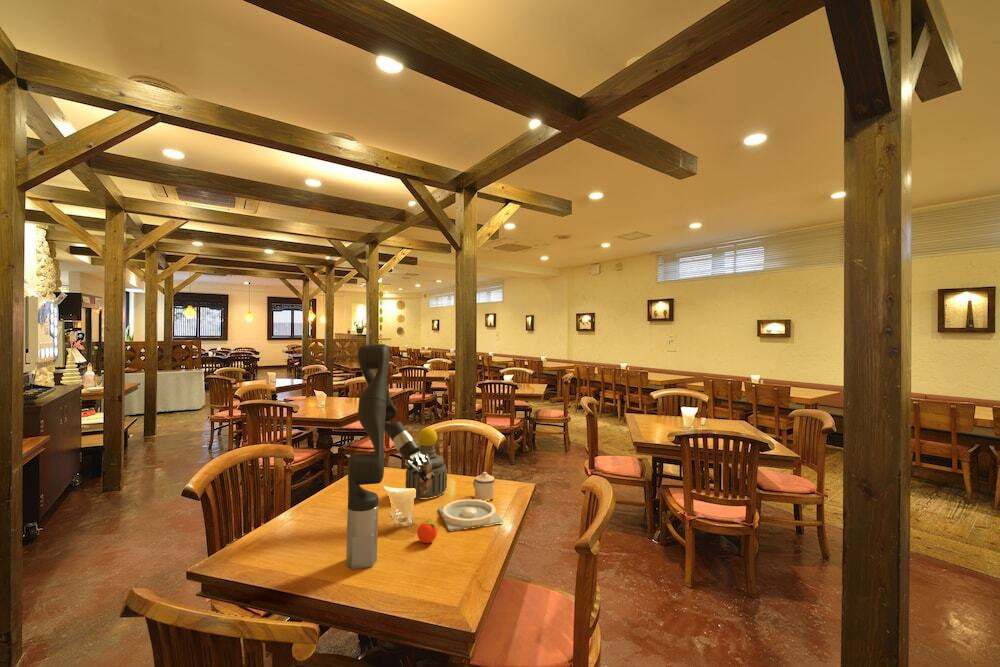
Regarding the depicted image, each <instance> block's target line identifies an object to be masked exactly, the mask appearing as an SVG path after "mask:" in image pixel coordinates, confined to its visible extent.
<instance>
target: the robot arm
mask: <svg viewBox="0 0 1000 667" xmlns="http://www.w3.org/2000/svg"><path fill="white" fill-rule="evenodd" d="M390 353H391V352H390V348H389V346H388V345H387V344H385V343H378V344H363V345H361V346H359V348H358V351H357V361H358V365H359V368H360V370H361V373H362V375H363V378H364V379H365V381H366V384H367V387H366V388H365V389H364V390H363V392H362V394H361V395H360V396H359V401H358V409H357V418H358V421H359V423H360V425H361V426H362V428H363V430H364V431H365V432H366V434H367V436H368V437H369V440H370V441H371V444H372V446H373V450H374V453H363V454H362V453H360V454H351V456H350V457H349V459H348V462H347V487H348V488H347V489H348V490H347V492H348V493H347V519H346V520H347V521H346V546H345V548H346V551H345V552H346V554H345V555H346V560H345V561H346V562H345V565H346V566H347V567H348V568H349V569H350V571H351V570H359V569H365V568H372V567H373V566H374V564H376V562H377V560H378V533H379V530H378V528H379V521H378V520H379V496H378V494H377V493H376V492H373V491H371V490H367V489H365V488H363V487H362V486H363V485H374V484H375V485H378V484H380V483H381V482H382V481H383V479H384V473H385V433H386V434H387V436H388V437H389V438H390V440H391V441H392V443H393V444H394V447H395V448H396V450H397V451H398V453H399V454H400V456H401V458H402V459H403V460H405V461H406V462H405V463H404V464H403V467H404V468H406V470H407V469H408V470H409V471H410V472H411V473H413V474H414V475H416V474H417V475H419V476H420V477H421V479H422V480H423V481H424V482H427V481H428V480H429V478H428V477H427V475H426V474H425V472H424V471H423V469H422V468H421V464H423V463H424V462H425V461H427V462H428V463H429V464H431V461H430V458H429V456H428V454H426V455H423V454H422V453H421V452H420V451H419V449H420V445H418V444H419V443H417V442H416V440H415V439H414V438H413V436H412V435H411V433H410V432H409V431H408V430H407V429H406V427H405V426H404V424H403V423H402V421H400V420H399V421H394V422H391V421H392V420H393V419H395V418H396V417H397V416H398V408H397V407H396V406H395V405H394V403H393V400H392V399H391V395H390V390H389V387H388V384H387V383H388V376H389V374H388V373H389V368H390V367H389V366H390ZM374 370H377V371H376V373H375V372H374ZM413 469H414V470H413ZM434 477H435V475H434V474H433V472H432V479H433V478H434Z"/></svg>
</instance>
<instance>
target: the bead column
mask: <svg viewBox="0 0 1000 667" xmlns="http://www.w3.org/2000/svg"><path fill="white" fill-rule="evenodd" d="M421 468H422V469H423V471H424V472H425V474H426V475H427V477H428V478H429V480H428V481H427V482H424V481H423V480H422V479H421V477H420V484H419V490H424V491H428V490H429V489H431V488H432V464H429V463H428V462H427V461H425V462H424V464H421Z"/></svg>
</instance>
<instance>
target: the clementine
mask: <svg viewBox="0 0 1000 667" xmlns="http://www.w3.org/2000/svg"><path fill="white" fill-rule="evenodd" d="M438 530H439V526H438V525H437V524H436V523H435V522H433V521H430V520H425V521H423V522H421V524H420V525H419V526H418V528H417V532H416V535H417V537H418V538H417V539H419V541H420V542H421V543H423V544H430V543H432V542H433V541H434V540H435V539H436V538H437V535H438Z"/></svg>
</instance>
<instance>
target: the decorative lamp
mask: <svg viewBox="0 0 1000 667" xmlns="http://www.w3.org/2000/svg"><path fill="white" fill-rule="evenodd" d="M437 440H438V434H437V432H436V431H435V429H433V428H431V427H423V428H422V429H421V430H420V431H419V432H418V435H417V442H418V444H419V447H420V449H419V451H420V452H421V453H422V454H423V455H426V454H428V456H429V458H430V461H431V464H432V472H433V474H434V475H435V477H434V478H433V479H432V488H431V489H429V490H428V491H424V490H419V484H420V476H419V475H417V474H416V475H414V474H413V473H411V472H410V471H409V470H408V469H407V468H406V470H405V484H404V485H405V489H406V488H415V489H416V498H430V497H434V496H438V495H440V494H442V493H443V492H444V491H445V492H446V490H447V487H448V484H447V483H448V468H447V466H446V464H445V459H444V458H443V457H442V456H441V455H439V454H437V453H436V448H435V447H436V446H435V444H436V443H437ZM423 464H424V463H423ZM413 470H414V469H413ZM442 495H443V494H442Z"/></svg>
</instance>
